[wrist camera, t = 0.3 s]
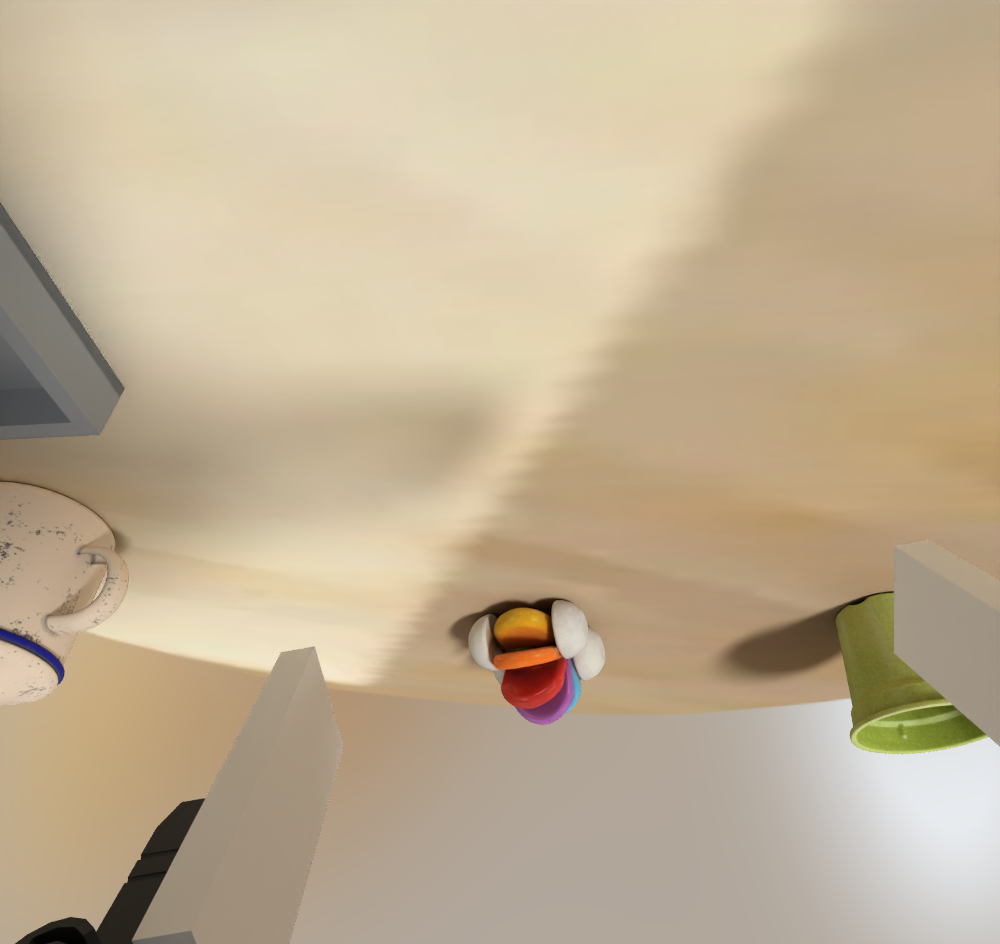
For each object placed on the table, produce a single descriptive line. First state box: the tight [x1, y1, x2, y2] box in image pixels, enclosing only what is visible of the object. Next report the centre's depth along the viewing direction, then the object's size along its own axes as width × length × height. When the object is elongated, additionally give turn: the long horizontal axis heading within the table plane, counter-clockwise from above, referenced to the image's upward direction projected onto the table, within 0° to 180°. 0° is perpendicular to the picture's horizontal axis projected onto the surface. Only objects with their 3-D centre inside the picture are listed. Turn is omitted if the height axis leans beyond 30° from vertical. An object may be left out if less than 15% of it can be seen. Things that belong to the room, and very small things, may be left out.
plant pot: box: [836, 593, 989, 754], centre depth 45 cm, size 9×9×9 cm
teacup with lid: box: [0, 482, 129, 705], centre depth 35 cm, size 12×9×12 cm
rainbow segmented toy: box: [468, 600, 605, 725], centre depth 46 cm, size 8×10×7 cm
